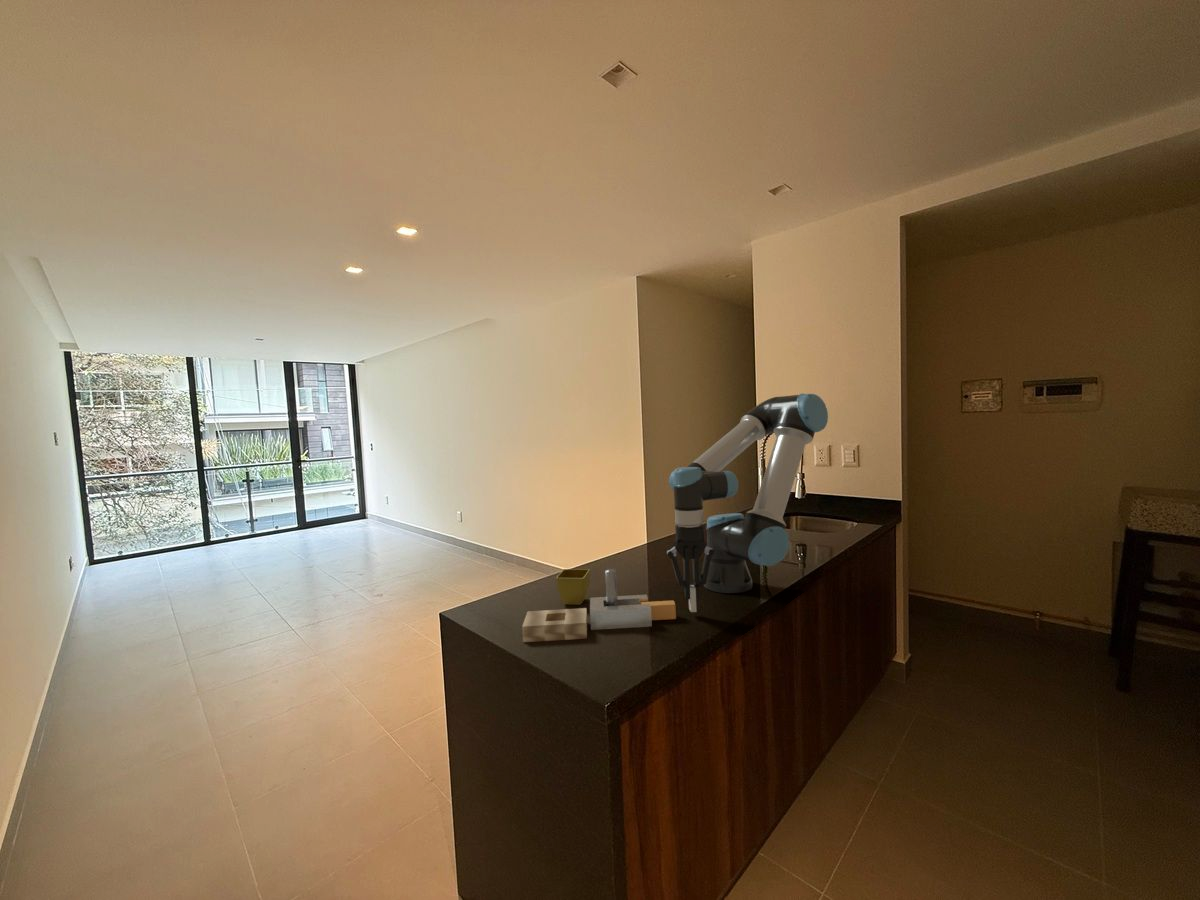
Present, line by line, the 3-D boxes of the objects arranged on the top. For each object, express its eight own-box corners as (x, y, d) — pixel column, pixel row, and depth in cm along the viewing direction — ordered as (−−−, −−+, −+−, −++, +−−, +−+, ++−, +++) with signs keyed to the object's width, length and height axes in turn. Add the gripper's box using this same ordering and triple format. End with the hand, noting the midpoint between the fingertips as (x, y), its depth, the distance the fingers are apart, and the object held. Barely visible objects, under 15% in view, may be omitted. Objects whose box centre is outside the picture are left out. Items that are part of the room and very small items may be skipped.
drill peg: (618, 618, 131) (615, 568, 130) (618, 622, 128) (616, 571, 127) (607, 619, 131) (604, 569, 130) (607, 623, 128) (604, 572, 127)
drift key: (674, 614, 131) (673, 600, 131) (676, 618, 128) (675, 604, 128) (641, 616, 131) (640, 602, 131) (642, 620, 128) (642, 606, 128)
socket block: (647, 611, 135) (646, 594, 134) (651, 626, 125) (650, 607, 124) (591, 615, 134) (590, 597, 134) (590, 629, 124) (589, 611, 124)
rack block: (587, 622, 129) (586, 608, 129) (586, 638, 119) (586, 622, 119) (528, 625, 129) (527, 611, 129) (523, 642, 119) (522, 626, 119)
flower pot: (585, 608, 140) (583, 577, 140) (556, 607, 142) (555, 577, 142) (591, 597, 149) (590, 569, 148) (564, 596, 150) (563, 568, 150)
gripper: (709, 520, 133) (713, 603, 133) (663, 522, 132) (666, 606, 133) (716, 525, 125) (720, 614, 126) (667, 528, 125) (671, 616, 126)
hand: (692, 610), depth 130 cm, fingers closed
